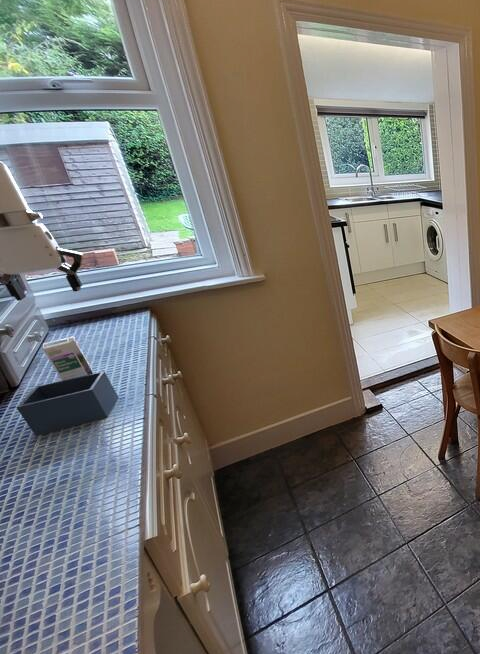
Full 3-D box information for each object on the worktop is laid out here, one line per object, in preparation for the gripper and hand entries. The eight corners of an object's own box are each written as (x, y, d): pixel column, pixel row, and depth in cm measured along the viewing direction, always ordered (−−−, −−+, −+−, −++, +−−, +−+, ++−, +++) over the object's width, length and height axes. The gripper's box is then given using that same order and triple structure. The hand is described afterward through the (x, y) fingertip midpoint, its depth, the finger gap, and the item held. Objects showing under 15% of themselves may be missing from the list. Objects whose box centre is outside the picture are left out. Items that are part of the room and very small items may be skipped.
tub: (35, 436, 90) (16, 407, 87) (53, 413, 98) (35, 386, 95) (107, 417, 95) (91, 389, 92) (118, 397, 103) (104, 371, 100)
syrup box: (72, 400, 103) (41, 349, 97) (71, 392, 107) (41, 342, 101) (102, 390, 107) (74, 340, 101) (100, 383, 110) (73, 334, 104)
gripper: (68, 214, 97) (102, 283, 104) (-40, 224, 89) (5, 298, 96) (57, 217, 91) (94, 290, 99) (-59, 228, 83) (-9, 307, 90)
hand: (50, 294), depth 97 cm, fingers open, 9 cm apart
